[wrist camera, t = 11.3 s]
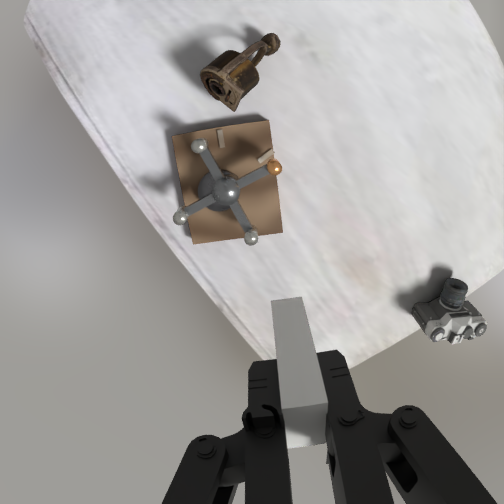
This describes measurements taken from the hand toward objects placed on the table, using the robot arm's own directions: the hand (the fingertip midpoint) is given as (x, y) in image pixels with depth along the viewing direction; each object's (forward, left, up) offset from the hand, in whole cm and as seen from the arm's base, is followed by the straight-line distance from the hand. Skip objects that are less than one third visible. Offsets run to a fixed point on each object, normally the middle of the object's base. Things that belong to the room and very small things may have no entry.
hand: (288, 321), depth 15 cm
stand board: (-1, -5, -34) cm, 35 cm away
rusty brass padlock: (-18, -1, -35) cm, 39 cm away
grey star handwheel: (-1, -5, -32) cm, 33 cm away
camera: (+27, +35, -35) cm, 56 cm away
